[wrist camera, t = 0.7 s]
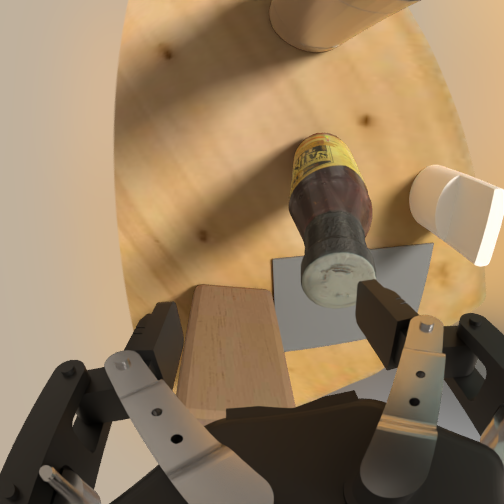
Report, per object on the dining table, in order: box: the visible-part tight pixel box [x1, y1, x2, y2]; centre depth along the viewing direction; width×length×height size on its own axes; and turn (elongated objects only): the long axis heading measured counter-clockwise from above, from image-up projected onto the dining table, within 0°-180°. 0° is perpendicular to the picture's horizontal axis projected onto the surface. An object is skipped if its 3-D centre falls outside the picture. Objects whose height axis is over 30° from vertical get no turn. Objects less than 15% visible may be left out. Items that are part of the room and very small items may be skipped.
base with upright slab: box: [409, 165, 504, 266], centre depth 28 cm, size 9×9×12 cm
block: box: [176, 284, 295, 426], centre depth 30 cm, size 10×10×20 cm
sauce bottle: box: [289, 133, 376, 309], centre depth 22 cm, size 7×6×20 cm
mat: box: [273, 243, 434, 352], centre depth 39 cm, size 16×24×1 cm, turn 94°
